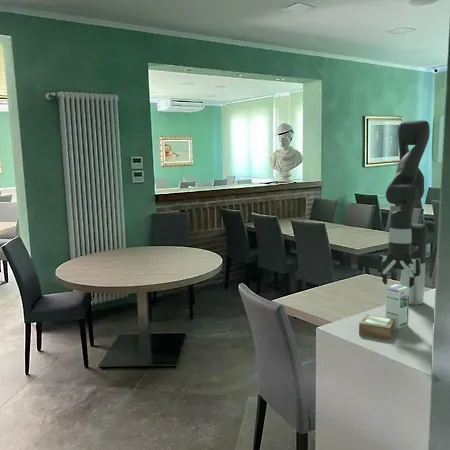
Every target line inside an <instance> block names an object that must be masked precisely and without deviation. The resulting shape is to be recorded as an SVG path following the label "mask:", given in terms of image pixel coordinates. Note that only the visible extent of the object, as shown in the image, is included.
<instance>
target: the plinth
mask: <svg viewBox="0 0 450 450" xmlns="http://www.w3.org/2000/svg"><path fill="white" fill-rule="evenodd" d="M395 320H396V319H391V318H386V317H383V316H379V315H378V316H376V315H372V314H371V315H370V314H366V315H365V316H364V317H363V318H362V319H361V320H360V322H359V324H358V325H359V326H358V335H361V336H362V335H363V336H366V337H373V338H377V339H382V340H383V339H385V340H390V339H391V337H392V336H393V334H394V332H395V331H396V328H395Z"/></svg>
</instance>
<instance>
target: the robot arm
mask: <svg viewBox="0 0 450 450" xmlns="http://www.w3.org/2000/svg"><path fill="white" fill-rule="evenodd" d="M430 133H431V130H430V123H429V122H428V121H427V120H406V121H405V120H403V121H401V122H400V123H399V125H398V128H397V139H398V140H397V141H398V152H399V153H398V154H399V162H398V164H397V167H396V171H395V175H394V177H393V179H392V180H391V181H390V183H389V184H388V186H387V188H386V191H385V198H386V201H387V202H388V203H389V204H390V205H391V204H392V205H399V210H395V211H394V210H393V211H392V212H391V213H390V220H389V221H390V222H389V231H388V232H389V233H388V238H387V239H388V251H387V255H383V254H380V255H379V256H378V259H377V270H376V271H377V272H378V273H381V274H382V279H381V281H382V283H383V284H384V285H387V284H388V275H389V274H388V272H389V271H390V269H393V270H399V271H400V278H399V285H403V286H407V287H409V305H412V306H413V305H414V306H416V305H422V304H424V300H425V299H424V297H425V296H424V295H425V282H426V281H425V276H426V275H425V274H426V258H427V257H426V256H427V244H428V232H429V231H428V230H429V229H428V226H427V224H424V223H413V220H412V219H413V212H414V209H415V207H416V206H417V205H418V204H419V203H420V202H421V200H422V198H423V197H424V193H425V177H424V174H423V172H422V171H421V169H420V168H419V166H420V163H421V160H422V158H423V155H424V153H425V151H426V148H427V146H428V143H429V139H430ZM409 146H413V147H412V148H411V149H409ZM412 246H414V247H417V249H414V250H413V251H412ZM385 261H387V262H388V265H387V266H386V267H385V268H383V265H384V262H385Z"/></svg>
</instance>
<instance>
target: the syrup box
mask: <svg viewBox="0 0 450 450" xmlns="http://www.w3.org/2000/svg"><path fill="white" fill-rule="evenodd" d="M409 306H410V304H409V287H407V286H403V285H400V284H396V283H395V284H392V285H390V286H386V287H385V318H391V319H396V320H395V329H397V330H400V329H402V328H404V327H408V326H409Z"/></svg>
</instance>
